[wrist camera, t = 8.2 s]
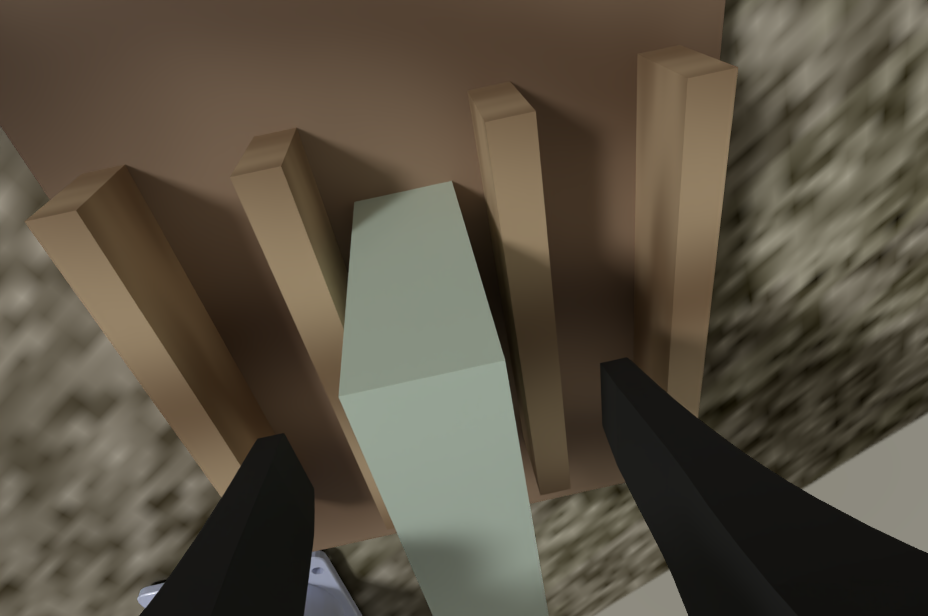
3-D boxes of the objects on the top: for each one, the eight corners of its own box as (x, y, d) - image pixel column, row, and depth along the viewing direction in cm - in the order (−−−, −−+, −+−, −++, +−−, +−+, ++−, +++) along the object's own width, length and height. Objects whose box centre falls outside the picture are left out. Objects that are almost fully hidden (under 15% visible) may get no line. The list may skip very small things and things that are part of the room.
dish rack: (669, 450, 23) (711, 525, 20) (291, 534, 23) (279, 622, 20) (717, -187, 11) (835, -226, 8) (-60, -22, 11) (-215, -4, 8)
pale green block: (495, 402, 18) (548, 616, 13) (422, 418, 18) (443, 639, 13) (451, 180, 14) (504, 360, 8) (354, 201, 14) (338, 396, 8)
